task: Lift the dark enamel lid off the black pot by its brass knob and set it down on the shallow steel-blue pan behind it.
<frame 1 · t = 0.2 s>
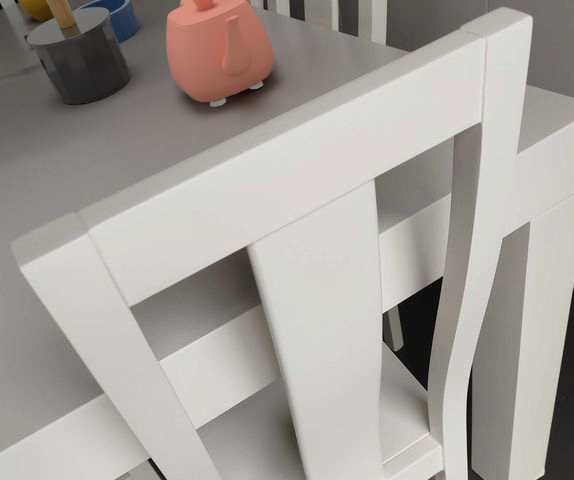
pan: (108, 35, 108), on the table
pot: (95, 86, 93), on the table
apple: (53, 24, 120), on the table
teapot: (231, 91, 82), on the table
lid: (69, 29, 87), point 8 cm above the table, touching pot
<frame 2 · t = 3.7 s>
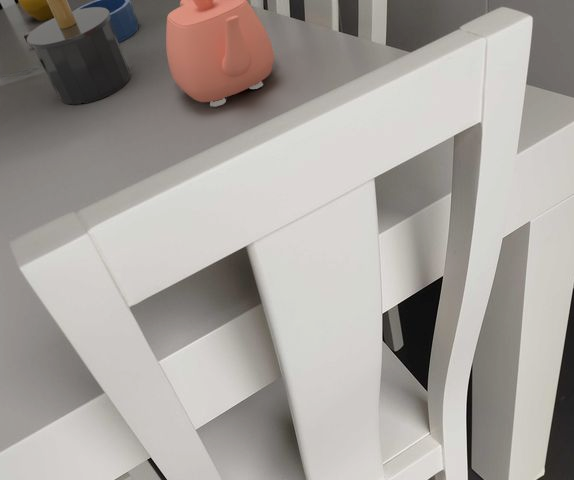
nothing on the table moved.
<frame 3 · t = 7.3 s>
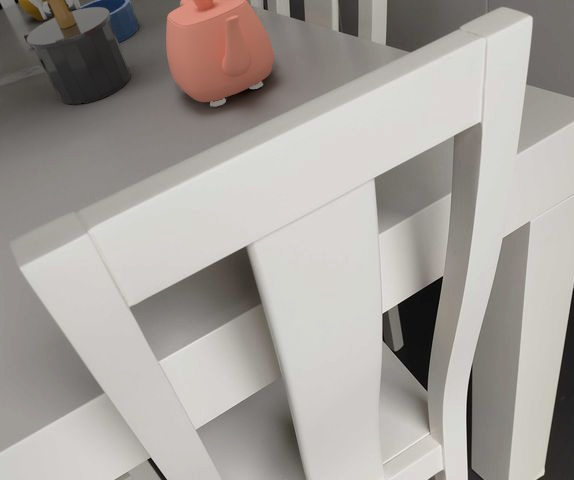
hand: (62, 13, 85), 11 cm above the table, tool pointing down, fingers closed on lid, 2 cm apart
lid: (69, 29, 87), point 9 cm above the table, touching gripper, pot
everything else where it was.
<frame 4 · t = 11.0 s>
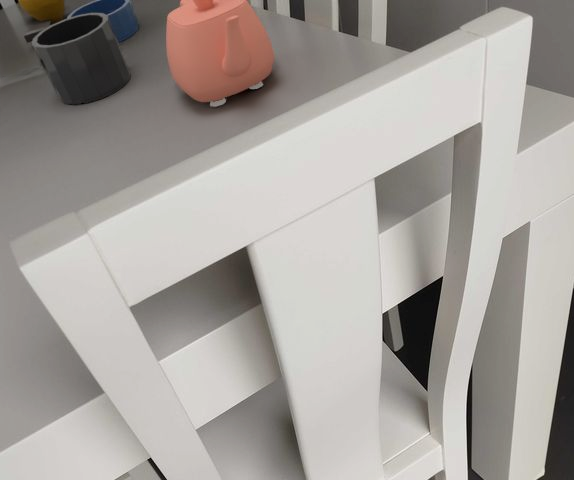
when the fingers open (7 cm above the table, at t = 14.5 s): lid stays where it is, resting on pan.
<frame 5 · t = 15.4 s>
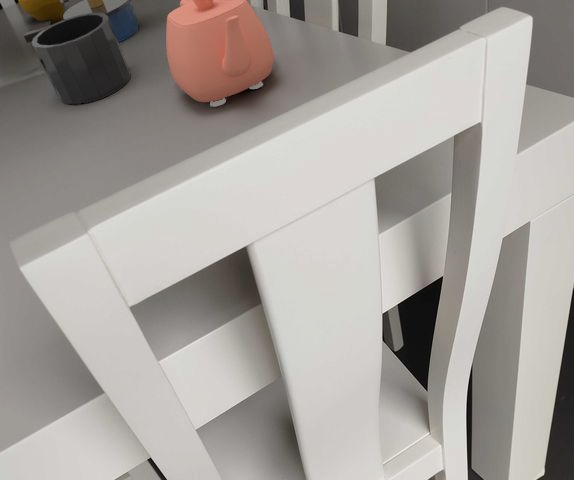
lid: (98, 8, 104), point 4 cm above the table, touching pan
everything else where it was.
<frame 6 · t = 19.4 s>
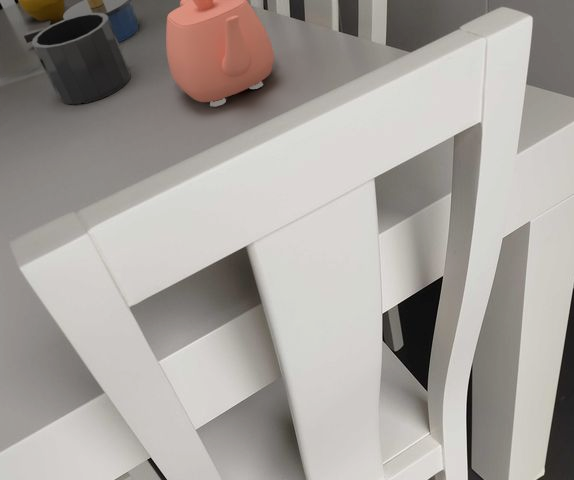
nothing on the table moved.
at the end: lid 0.1 cm off-centre on the pan, point 4.5 cm above the pan's base; lid tilted 0°; lid moved 22.4 cm from its start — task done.
